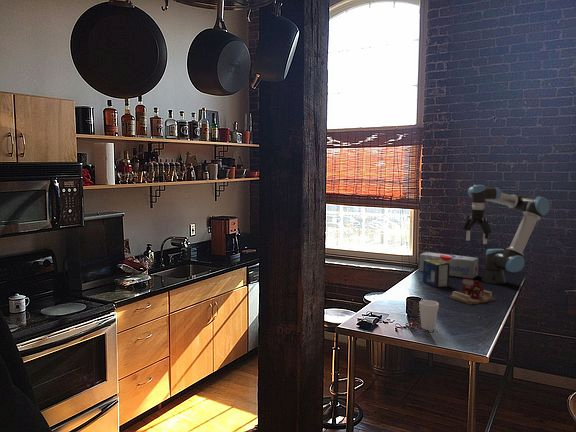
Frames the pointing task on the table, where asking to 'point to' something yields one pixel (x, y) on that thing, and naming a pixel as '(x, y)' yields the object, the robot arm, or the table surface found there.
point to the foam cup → (428, 314)
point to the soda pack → (454, 264)
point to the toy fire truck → (472, 288)
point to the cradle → (469, 299)
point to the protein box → (436, 273)
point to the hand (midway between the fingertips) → (476, 242)
